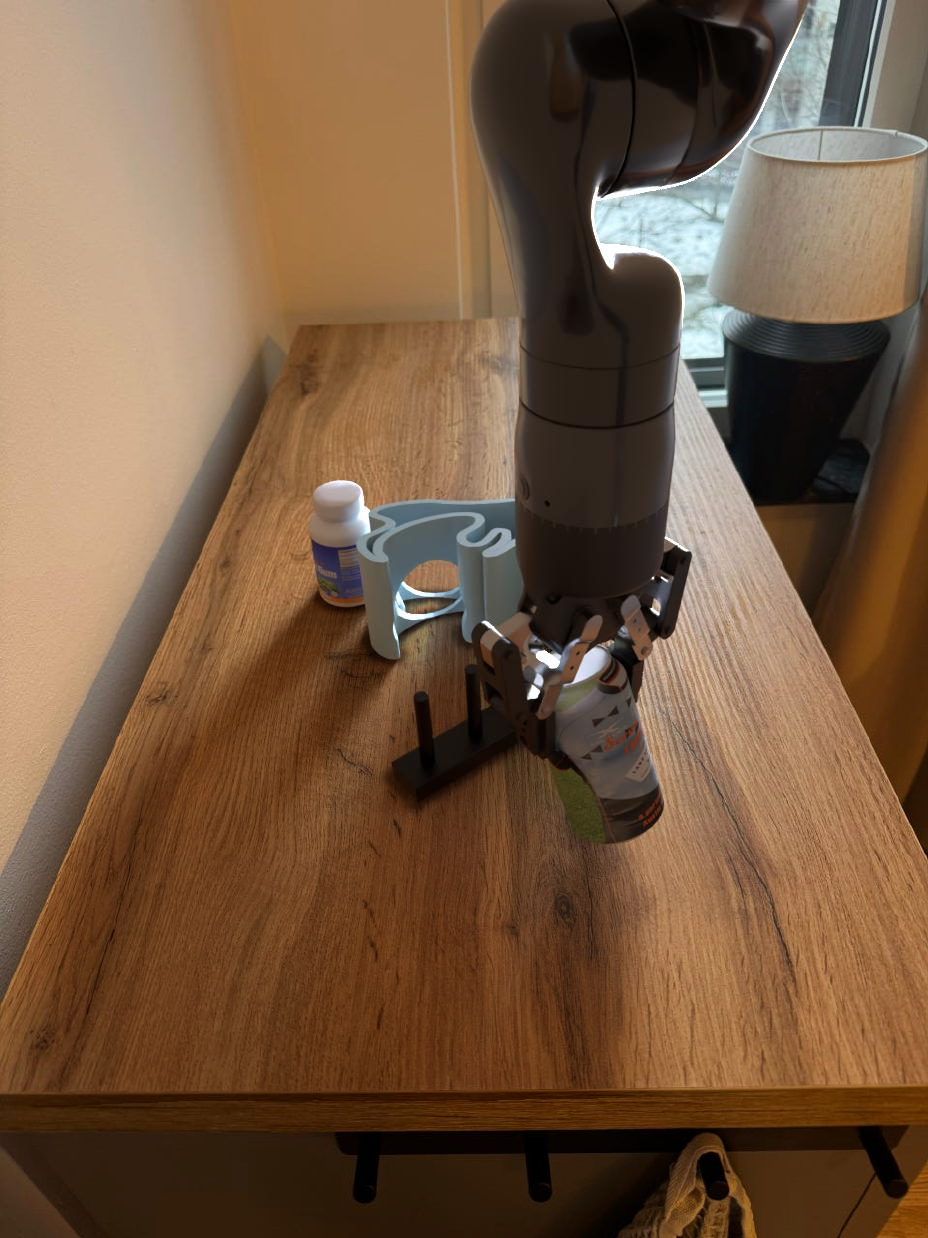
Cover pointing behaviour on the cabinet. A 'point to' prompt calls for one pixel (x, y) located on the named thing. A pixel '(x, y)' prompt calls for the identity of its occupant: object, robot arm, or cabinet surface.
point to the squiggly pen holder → (445, 533)
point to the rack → (452, 743)
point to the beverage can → (603, 754)
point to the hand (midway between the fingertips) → (580, 722)
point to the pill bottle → (338, 541)
